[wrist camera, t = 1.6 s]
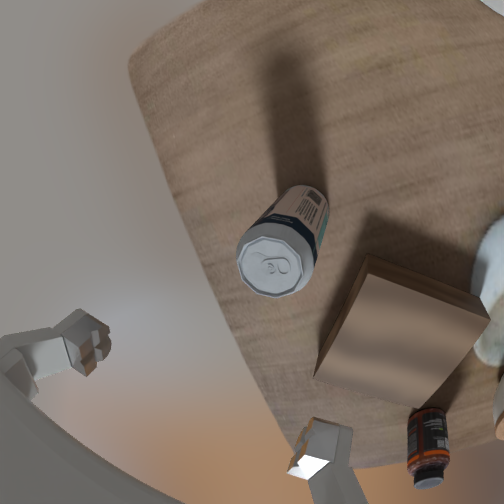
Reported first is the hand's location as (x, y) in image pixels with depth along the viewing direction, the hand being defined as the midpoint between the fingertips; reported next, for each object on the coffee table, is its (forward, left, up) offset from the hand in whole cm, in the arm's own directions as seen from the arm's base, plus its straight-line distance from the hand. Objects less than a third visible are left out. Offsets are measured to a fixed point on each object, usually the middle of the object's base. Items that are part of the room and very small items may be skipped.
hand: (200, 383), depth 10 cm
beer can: (0, 0, -21) cm, 21 cm away
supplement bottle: (+22, +27, -21) cm, 41 cm away
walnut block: (+9, +14, -21) cm, 27 cm away
